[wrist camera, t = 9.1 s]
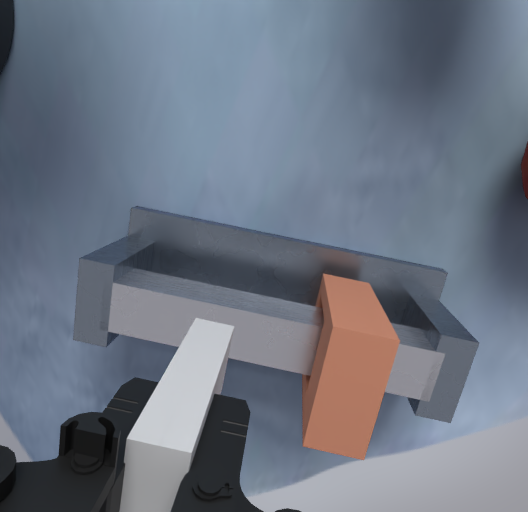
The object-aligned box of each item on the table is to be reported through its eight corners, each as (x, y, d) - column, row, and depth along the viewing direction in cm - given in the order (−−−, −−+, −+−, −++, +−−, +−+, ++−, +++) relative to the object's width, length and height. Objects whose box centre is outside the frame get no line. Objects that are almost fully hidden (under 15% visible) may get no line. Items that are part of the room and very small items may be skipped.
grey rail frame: (124, 320, 31) (70, 370, 24) (136, 206, 29) (81, 223, 22) (406, 382, 30) (440, 453, 23) (442, 268, 28) (492, 308, 21)
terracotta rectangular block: (302, 361, 28) (302, 446, 20) (323, 273, 26) (333, 326, 18) (345, 370, 28) (364, 460, 20) (369, 282, 26) (400, 340, 18)
